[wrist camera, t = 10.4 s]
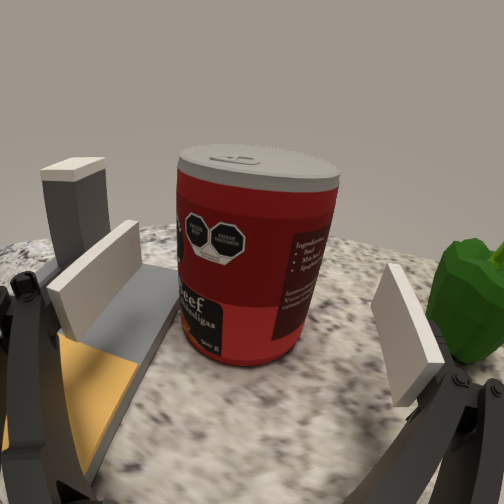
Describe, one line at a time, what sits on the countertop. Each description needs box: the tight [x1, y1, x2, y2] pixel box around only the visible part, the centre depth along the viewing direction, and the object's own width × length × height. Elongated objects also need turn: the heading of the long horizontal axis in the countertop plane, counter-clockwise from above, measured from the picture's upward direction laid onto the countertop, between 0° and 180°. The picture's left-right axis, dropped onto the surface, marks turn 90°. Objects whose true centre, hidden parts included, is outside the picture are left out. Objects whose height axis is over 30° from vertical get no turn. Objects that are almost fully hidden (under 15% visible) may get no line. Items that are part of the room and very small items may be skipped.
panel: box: [0, 257, 180, 486], centre depth 14 cm, size 13×18×2 cm
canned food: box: [176, 144, 340, 366], centre depth 16 cm, size 8×8×11 cm
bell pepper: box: [425, 238, 504, 364], centre depth 16 cm, size 8×8×10 cm
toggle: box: [40, 157, 111, 268], centre depth 19 cm, size 4×4×8 cm
